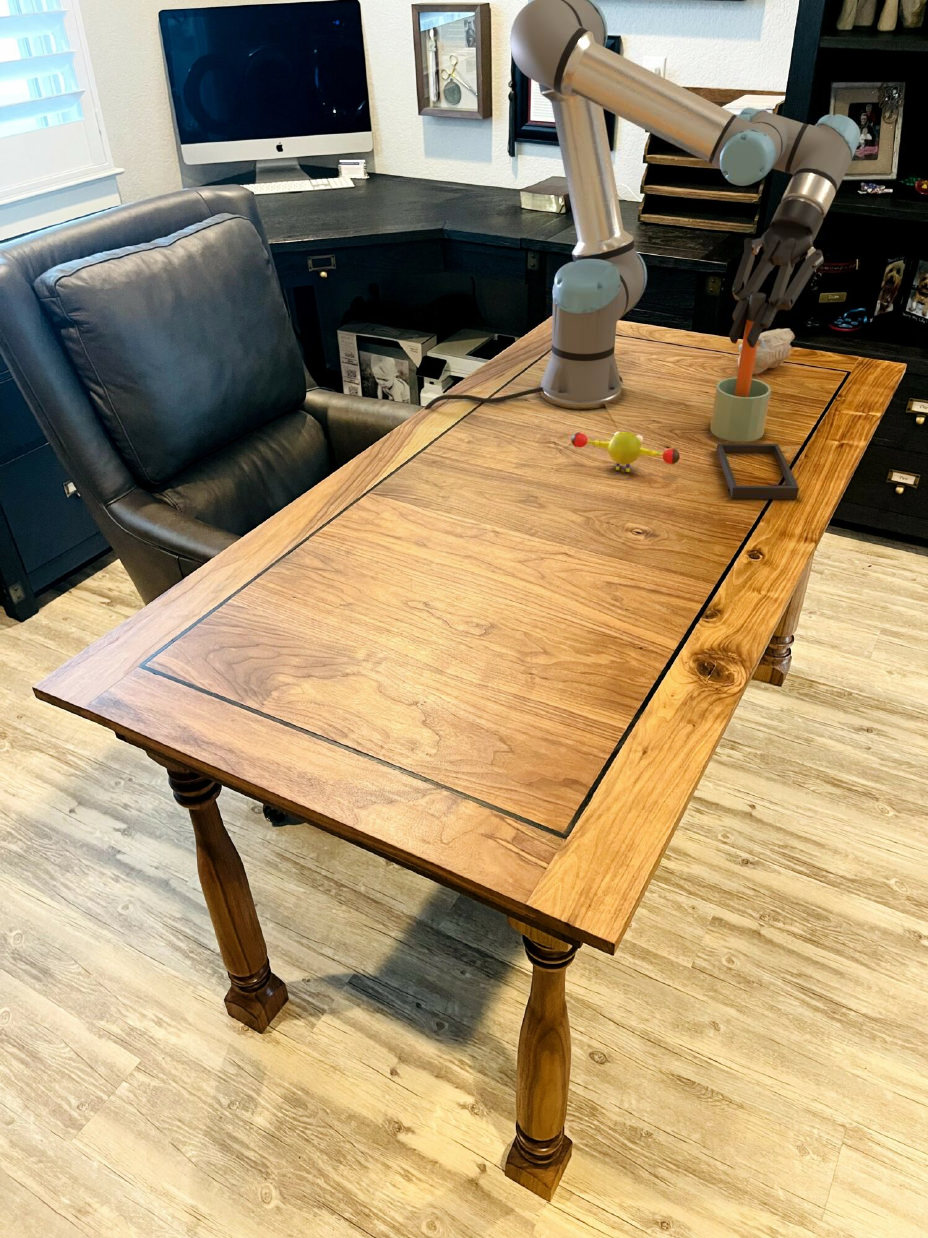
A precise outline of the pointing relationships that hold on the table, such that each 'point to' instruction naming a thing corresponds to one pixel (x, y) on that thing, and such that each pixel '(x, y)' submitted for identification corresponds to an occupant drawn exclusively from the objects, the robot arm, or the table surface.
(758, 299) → the marker
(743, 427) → the pen cup
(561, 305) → the robot arm
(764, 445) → the pen tray
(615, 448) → the toy figure
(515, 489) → the table surface
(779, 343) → the fossil replica
